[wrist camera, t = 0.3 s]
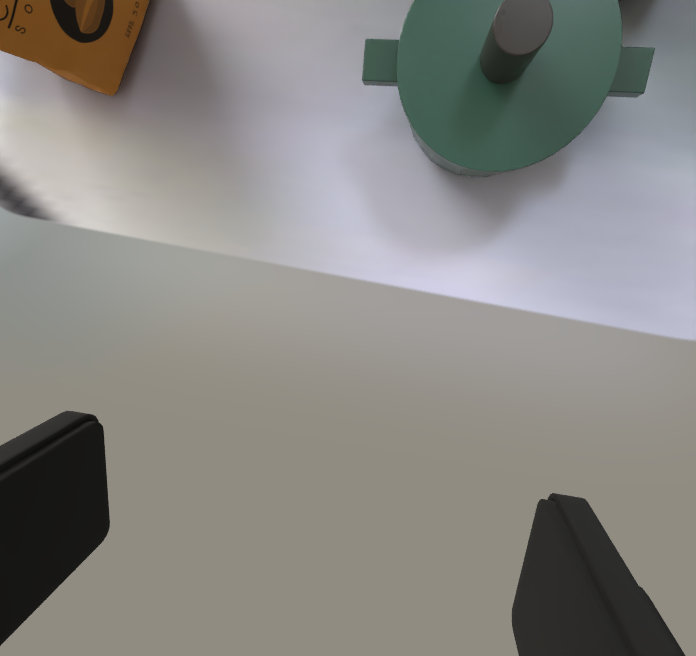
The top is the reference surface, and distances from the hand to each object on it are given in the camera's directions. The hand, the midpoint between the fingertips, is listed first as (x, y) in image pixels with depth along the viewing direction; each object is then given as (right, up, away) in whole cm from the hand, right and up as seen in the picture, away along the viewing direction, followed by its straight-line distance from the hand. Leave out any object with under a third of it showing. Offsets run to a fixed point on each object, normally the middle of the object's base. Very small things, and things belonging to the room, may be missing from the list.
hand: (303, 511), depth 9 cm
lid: (+10, +20, +16) cm, 28 cm away
